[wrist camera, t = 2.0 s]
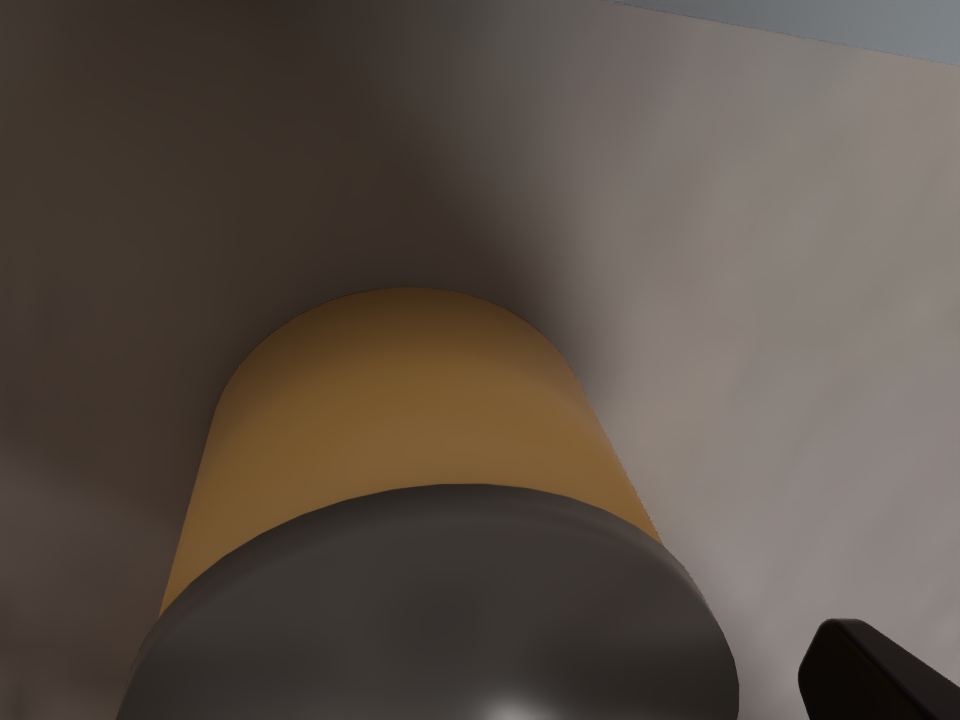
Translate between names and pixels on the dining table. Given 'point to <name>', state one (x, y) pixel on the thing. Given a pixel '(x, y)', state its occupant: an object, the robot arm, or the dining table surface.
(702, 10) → the lane
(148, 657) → the jar
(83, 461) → the dining table surface
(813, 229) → the dining table surface
